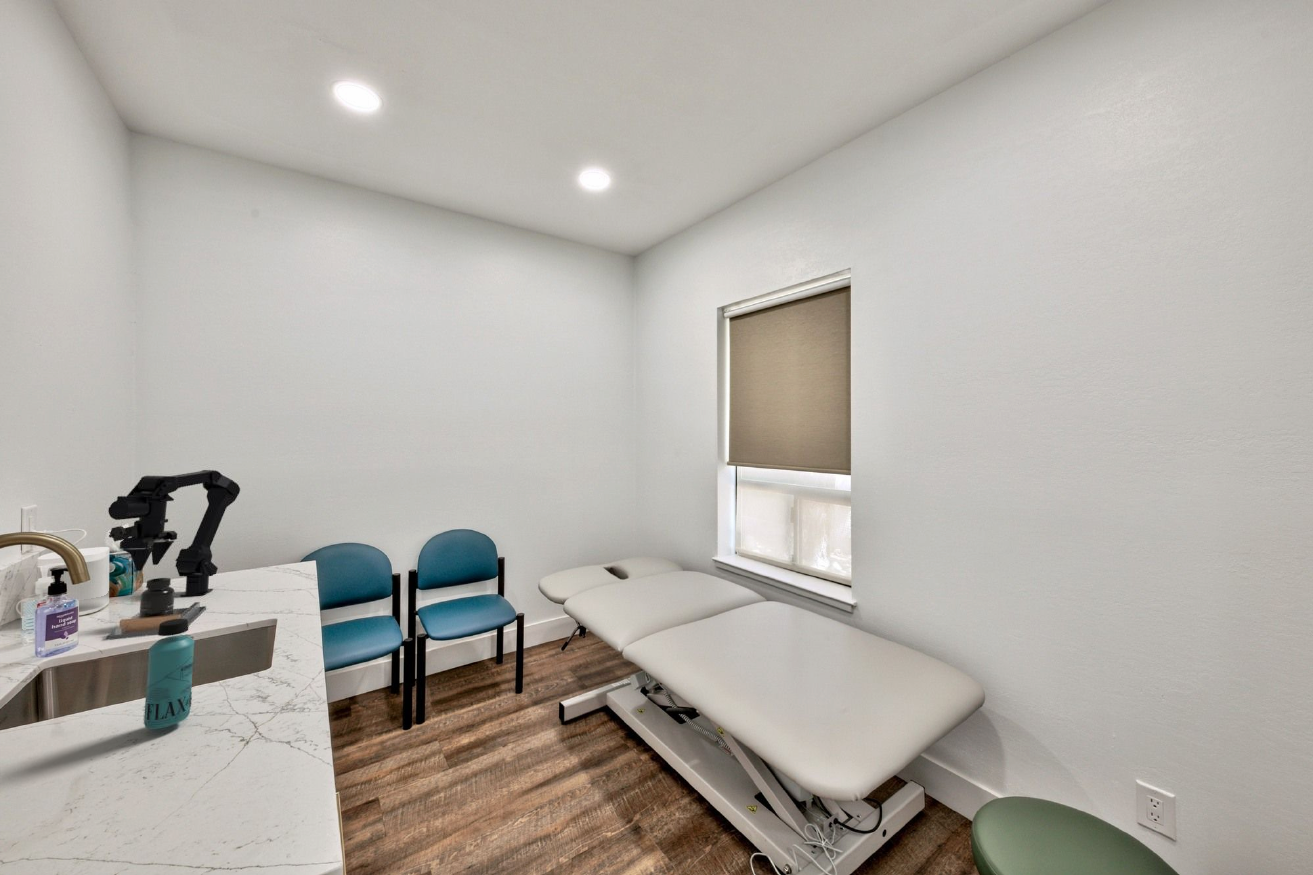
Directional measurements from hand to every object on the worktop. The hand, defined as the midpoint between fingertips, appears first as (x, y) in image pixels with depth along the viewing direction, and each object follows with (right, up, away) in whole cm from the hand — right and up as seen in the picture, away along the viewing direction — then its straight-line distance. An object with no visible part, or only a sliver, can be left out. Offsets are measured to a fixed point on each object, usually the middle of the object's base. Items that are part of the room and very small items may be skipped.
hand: (147, 567), depth 152 cm
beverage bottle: (+64, -15, -59) cm, 88 cm away
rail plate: (+14, -13, -10) cm, 21 cm away
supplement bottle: (+14, -13, -11) cm, 22 cm away
